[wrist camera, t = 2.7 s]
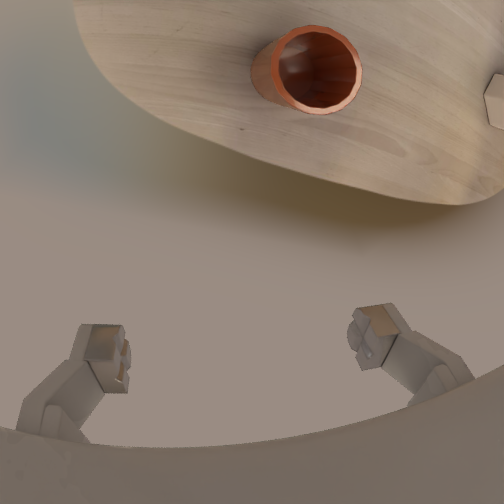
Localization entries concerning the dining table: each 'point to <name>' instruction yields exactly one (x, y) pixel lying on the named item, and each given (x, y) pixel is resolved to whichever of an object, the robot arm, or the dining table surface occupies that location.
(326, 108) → the pot
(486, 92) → the jar
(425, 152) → the dining table surface
